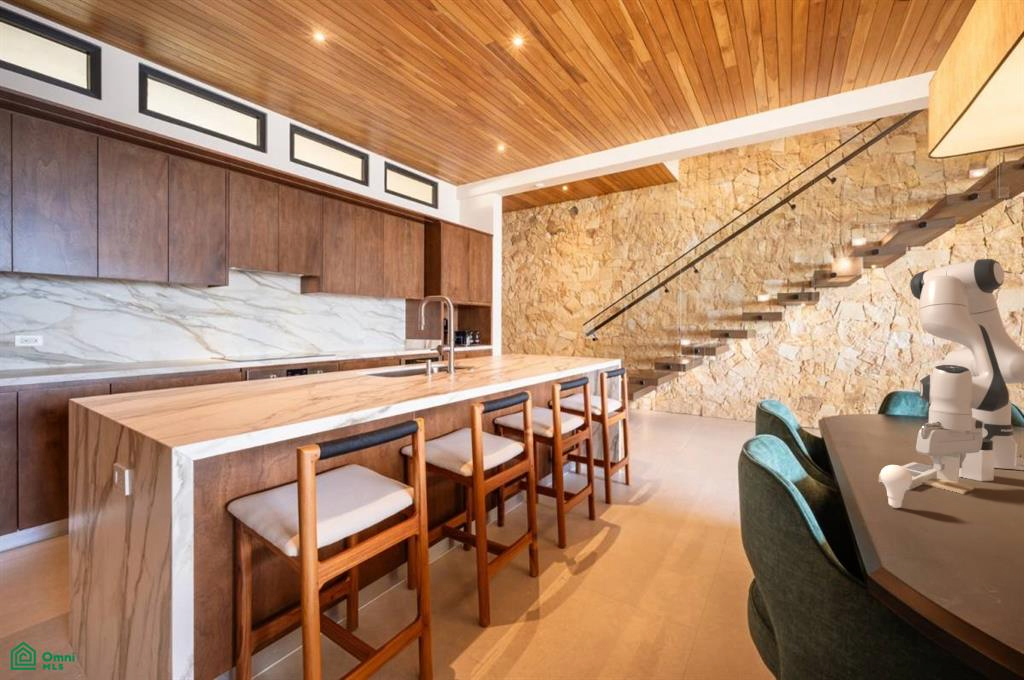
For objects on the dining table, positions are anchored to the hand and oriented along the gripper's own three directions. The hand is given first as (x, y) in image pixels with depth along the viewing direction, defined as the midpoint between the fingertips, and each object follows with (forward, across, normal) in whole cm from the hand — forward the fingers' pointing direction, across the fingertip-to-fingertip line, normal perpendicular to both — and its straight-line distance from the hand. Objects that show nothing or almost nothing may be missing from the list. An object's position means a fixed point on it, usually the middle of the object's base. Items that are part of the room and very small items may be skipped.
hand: (947, 468), depth 125 cm
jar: (+5, +17, +4) cm, 19 cm away
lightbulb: (+5, -32, -9) cm, 33 cm away
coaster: (+5, 0, 0) cm, 5 cm away
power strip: (+5, -2, +7) cm, 9 cm away
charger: (+3, 0, 0) cm, 3 cm away
